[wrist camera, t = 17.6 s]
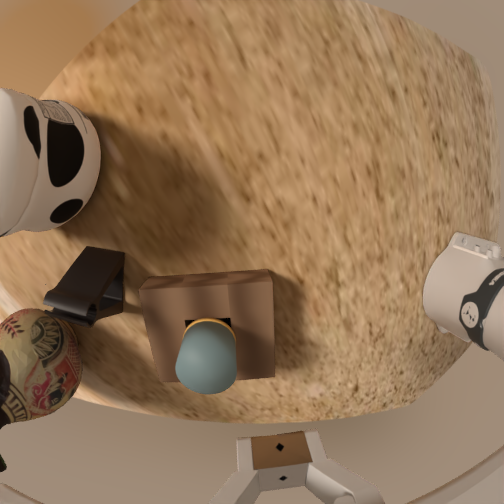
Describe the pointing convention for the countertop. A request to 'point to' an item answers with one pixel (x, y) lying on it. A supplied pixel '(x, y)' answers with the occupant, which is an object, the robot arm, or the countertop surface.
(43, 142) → the milk container
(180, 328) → the board
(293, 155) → the countertop surface
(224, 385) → the leg
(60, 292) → the phone stand
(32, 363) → the ceramic jug
